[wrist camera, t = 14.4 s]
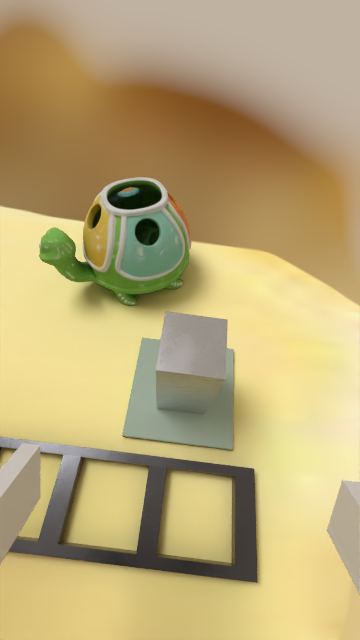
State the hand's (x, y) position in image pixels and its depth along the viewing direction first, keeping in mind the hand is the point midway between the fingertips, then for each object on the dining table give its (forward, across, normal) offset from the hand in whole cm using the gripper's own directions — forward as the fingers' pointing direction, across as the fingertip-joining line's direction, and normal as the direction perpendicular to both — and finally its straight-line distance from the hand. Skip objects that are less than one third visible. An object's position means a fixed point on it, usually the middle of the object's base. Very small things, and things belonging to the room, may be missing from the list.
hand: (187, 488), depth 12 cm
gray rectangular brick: (+18, 0, -4) cm, 18 cm away
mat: (+18, 0, -5) cm, 19 cm away
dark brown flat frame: (+10, -6, -13) cm, 17 cm away
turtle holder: (+29, -9, +6) cm, 31 cm away
